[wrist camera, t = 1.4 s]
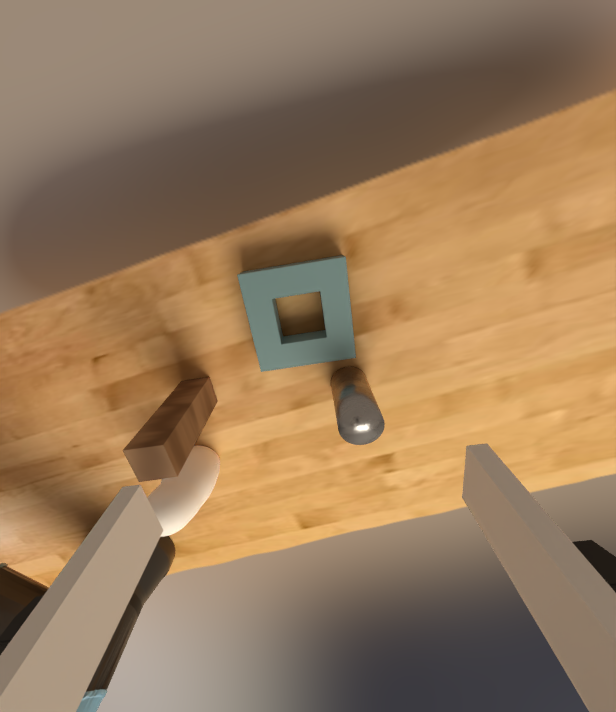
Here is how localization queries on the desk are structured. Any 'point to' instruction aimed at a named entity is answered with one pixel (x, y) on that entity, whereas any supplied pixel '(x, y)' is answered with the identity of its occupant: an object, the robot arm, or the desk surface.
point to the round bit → (355, 407)
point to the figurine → (185, 490)
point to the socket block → (294, 281)
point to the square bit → (171, 431)
